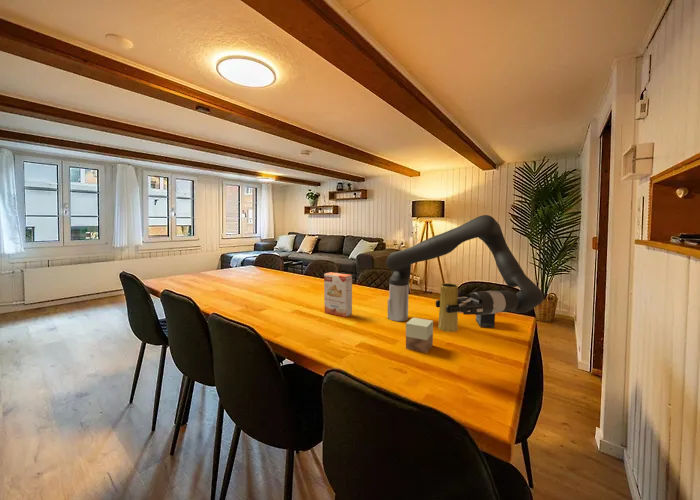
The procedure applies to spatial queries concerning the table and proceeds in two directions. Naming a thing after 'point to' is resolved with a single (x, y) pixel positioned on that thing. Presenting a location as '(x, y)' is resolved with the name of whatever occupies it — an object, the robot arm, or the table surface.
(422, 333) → the tower top block
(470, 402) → the table surface
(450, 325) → the vase
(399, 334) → the table surface
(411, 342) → the tower base block
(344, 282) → the cracker box
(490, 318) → the small box
